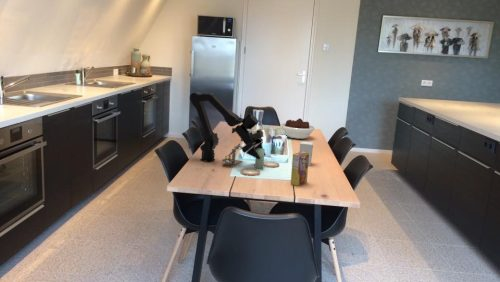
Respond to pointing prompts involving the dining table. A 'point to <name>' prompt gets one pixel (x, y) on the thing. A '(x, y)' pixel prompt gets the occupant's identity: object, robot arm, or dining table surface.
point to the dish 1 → (250, 172)
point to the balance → (232, 161)
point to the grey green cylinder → (260, 162)
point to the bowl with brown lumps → (297, 129)
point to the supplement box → (307, 149)
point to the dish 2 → (271, 164)
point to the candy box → (299, 168)
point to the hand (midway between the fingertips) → (262, 157)
